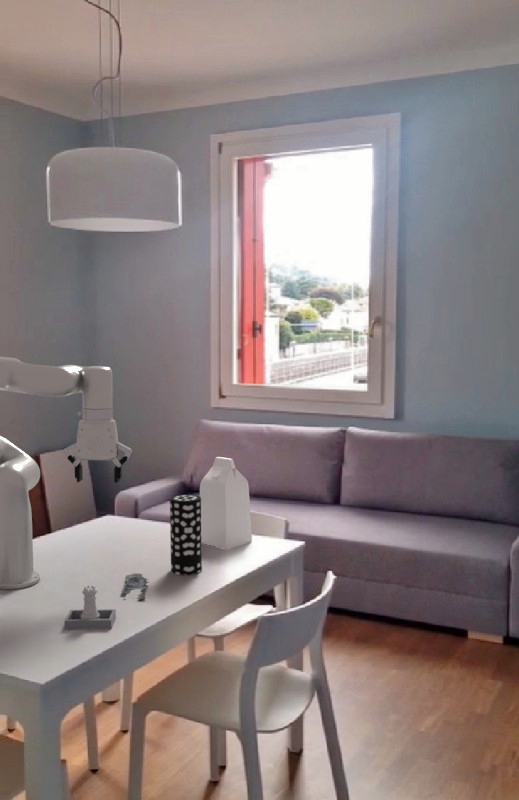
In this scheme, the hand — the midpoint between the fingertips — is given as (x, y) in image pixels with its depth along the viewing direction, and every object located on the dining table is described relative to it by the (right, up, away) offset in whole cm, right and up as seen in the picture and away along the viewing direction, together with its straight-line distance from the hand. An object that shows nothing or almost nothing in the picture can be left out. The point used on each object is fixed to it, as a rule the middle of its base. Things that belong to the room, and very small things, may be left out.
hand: (98, 481), depth 207 cm
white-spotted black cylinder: (+21, -26, +12) cm, 36 cm away
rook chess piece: (+3, -29, -26) cm, 39 cm away
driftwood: (+9, -28, -1) cm, 29 cm away
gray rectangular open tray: (+4, -29, -26) cm, 39 cm away
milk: (+31, -23, +40) cm, 56 cm away
